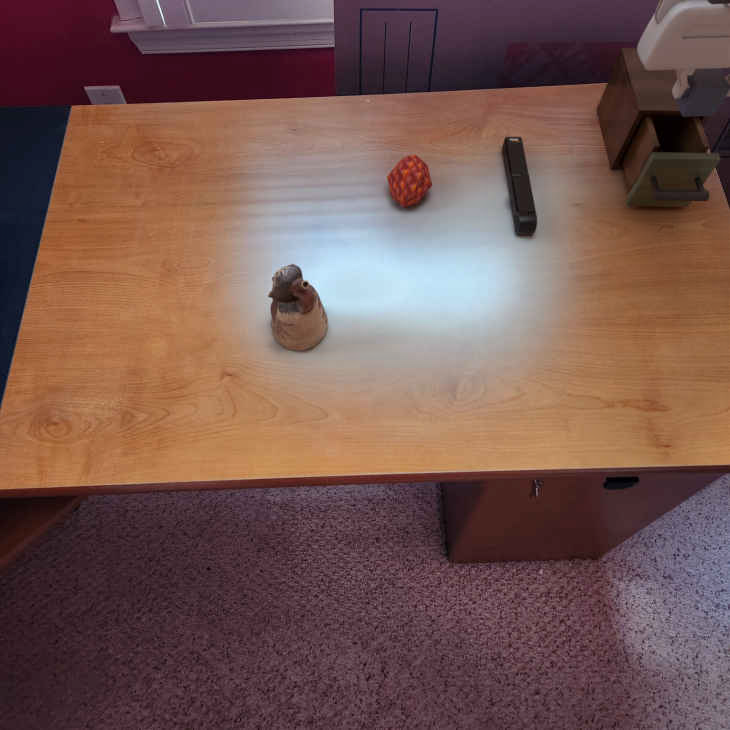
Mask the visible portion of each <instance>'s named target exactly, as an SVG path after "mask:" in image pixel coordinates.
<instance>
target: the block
mask: <svg viewBox="0 0 730 730" xmlns="http://www.w3.org/2000/svg"><path fill="white" fill-rule="evenodd" d="M687 78H689V79H690V81H691V82H690V83H692V85H693V89H692V91H691V92H690V93H689V96H688V97H687V98H676V99H675V101H676V103H677V105H678V107H679V110H680V112H681V114H682V116H683V117H689V116H710V117H713V116H715V114H716V113H717V111H718V110H719V108H720V106H721V104H722V103H723V101H724V100H725V98H727V97H726V95H727V93H728V92H729V90H730V85H729V83H728V81H727V79H726V75H725V74H724V71H723V69H722V68H710V69H695V71H694V73H693V74H692V75H687Z"/></svg>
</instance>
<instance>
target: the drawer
mask: <svg viewBox="0 0 730 730" xmlns="http://www.w3.org/2000/svg"><path fill="white" fill-rule="evenodd" d="M710 148H711V146H710V144H709V140H708V138H707V135H706V133H705V130H704V127H702V124H701V121H700V118H699V116H689V117H683V116H678V115H642V117H641V119H640V121H639V123H638V126H637V128H636V130H635V132H634V134H633V136H632V138H631V140H630V142H629V144H628V146H627V148H626V150H625V152H624V154H623V156H622V158H621V160H622V164H623V168H624V170H623V171H624V177H625V179H626V184H627V188H628V191H629V193H628V195H627V196H626V198H625V203H626V206H627V207H671V208H672V207H673V208H674V207H675V208H679V207H681V208H688V207H689V206H690V205H691V203H692V202H708V201H709V199H710V196H711V193H710V191H709V190H706V189H705V186H704V185H705V183H706V182H707V180H708V178H709V177H710V176H711V175H712V173H713V171H714V170H715V168H716V167H717V166H718V165H719V163H720V161H721V156H720V153H718V152H708V151H709V149H710Z"/></svg>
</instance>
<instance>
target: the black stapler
mask: <svg viewBox="0 0 730 730" xmlns="http://www.w3.org/2000/svg"><path fill="white" fill-rule="evenodd" d="M501 148H502V149H501V153H502V159H503V166H504V172H505V177H506V178H505V179H506V183H507V190H508V196H509V202H510V209H511V215H512V222H513V228H514V233H515V234H516V235H520V234H521V235H530V234H532V235H533V234H535V233H536V232H537V226H538V215H537V212H536V211H537V209H536V205H535V199H534V193H533V189H532V184H531V178H530V174H529V168H528V162H527V158H526V153H525V147H524V142H523V138H522V136H505V137H504V139H503V143H502V147H501Z"/></svg>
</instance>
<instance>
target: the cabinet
mask: <svg viewBox="0 0 730 730" xmlns="http://www.w3.org/2000/svg"><path fill="white" fill-rule="evenodd" d="M676 81H677V74H676V70H646V69H645V68H644V66H643V64H642V62H641V60H640V58H639V55H638V52H637V47H621V48H620V50H619V54H618V56H617V58H616V60H615V62H614V66H613V68H612V71H611V73H610V75H609V78H608V81H607V83H606V85H605V87H604V90H603V92H602V95H601V97H600V100H599V102H598V105H597V107H596V114H597V118H598V121H599V126H600V130H601V134H602V138H603V143H604V147H605V151H606V155H607V160H608V163H609V168H610V170H611V171H612V170H613V171H615V170H616V171H621V170H622V171H624V168H623V164H622V160H621V158H622V156H623V154H624V152H625V150H626V148H627V146H628V144H629V142H630V140H631V138H632V136H633V134H634V132H635V130H636V128H637V126H638V123H639V121H640V119H641V117H642V115H678V116H682V114H681V112H680V110H679V107H678V105H677V103H676V101H675V98H674V96H673V93H672V89H673V87H674V85H675V83H676ZM710 117H711V116H699V118H700V121H701V124H702V127H703V128H704V127H705V125H706V124H707V122H708V121H709V119H710Z"/></svg>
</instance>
